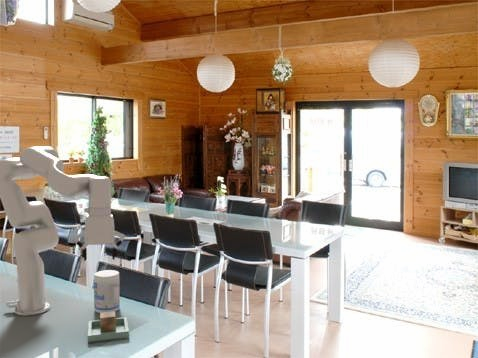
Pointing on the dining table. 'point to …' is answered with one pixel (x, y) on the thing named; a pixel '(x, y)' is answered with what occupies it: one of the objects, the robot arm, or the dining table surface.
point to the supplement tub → (106, 291)
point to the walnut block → (107, 322)
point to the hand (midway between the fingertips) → (99, 259)
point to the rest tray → (97, 336)
